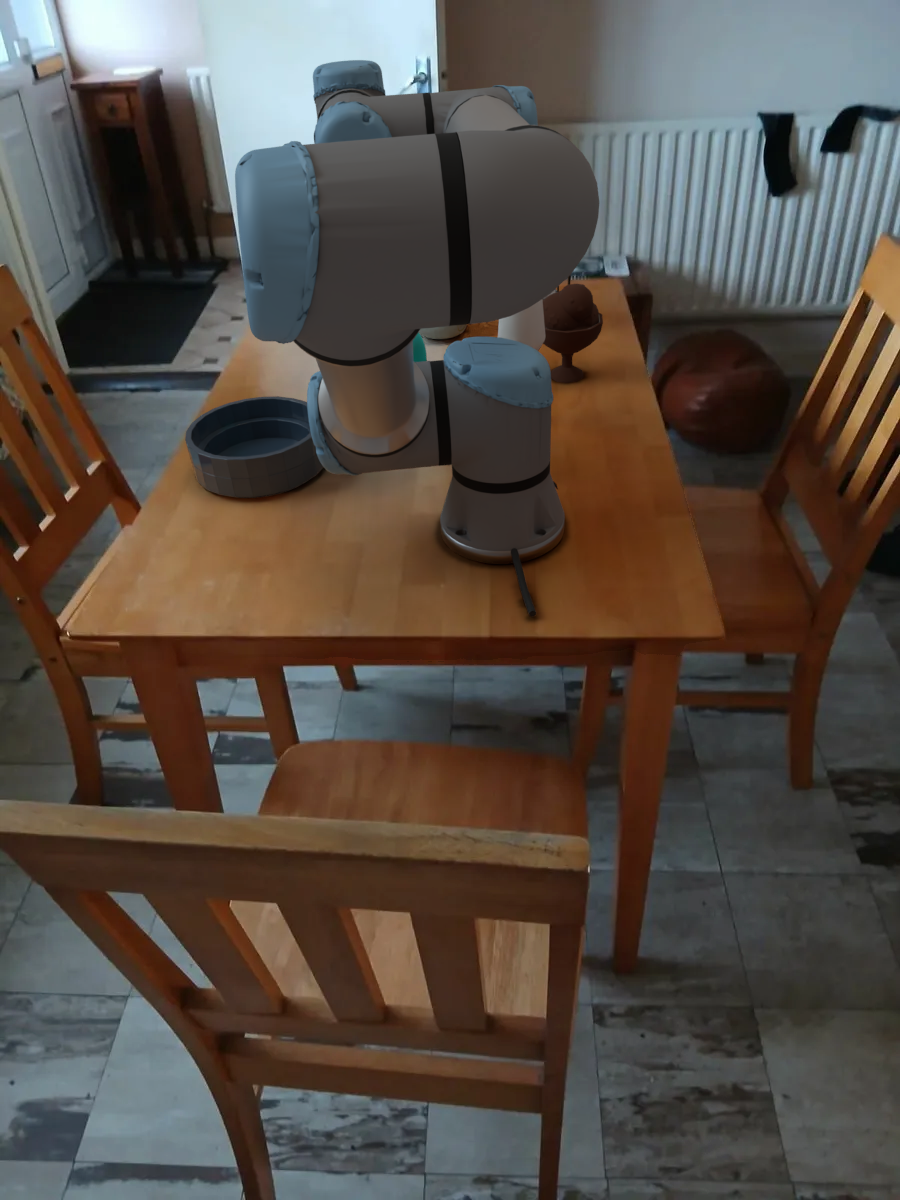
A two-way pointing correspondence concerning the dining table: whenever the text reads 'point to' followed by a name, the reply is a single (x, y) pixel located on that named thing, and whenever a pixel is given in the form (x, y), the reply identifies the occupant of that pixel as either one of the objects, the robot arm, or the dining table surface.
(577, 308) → the ice cream bowl
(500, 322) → the white tapered vase
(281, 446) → the bowl
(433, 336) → the air freshener
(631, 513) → the dining table surface
